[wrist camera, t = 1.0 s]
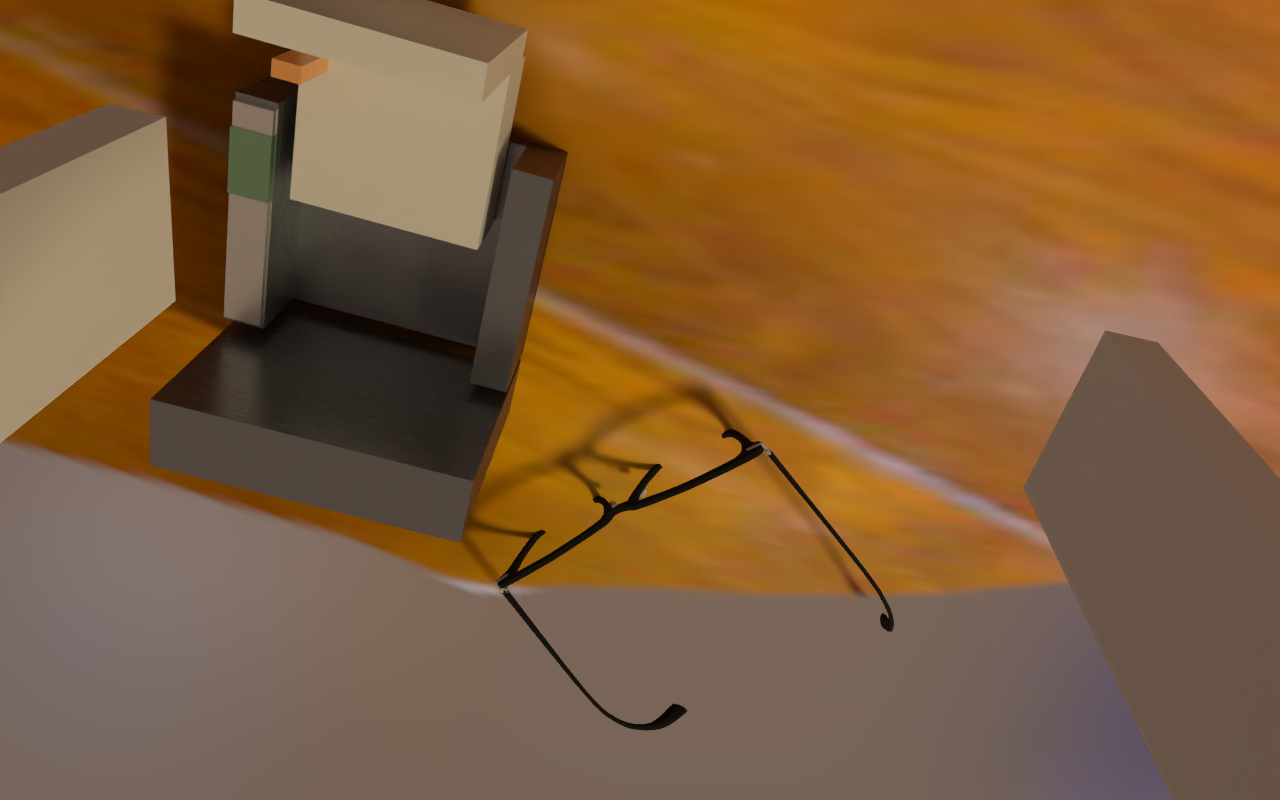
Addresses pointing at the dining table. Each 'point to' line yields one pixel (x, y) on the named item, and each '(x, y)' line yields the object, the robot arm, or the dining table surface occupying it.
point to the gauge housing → (356, 341)
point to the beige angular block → (396, 108)
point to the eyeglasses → (636, 502)
